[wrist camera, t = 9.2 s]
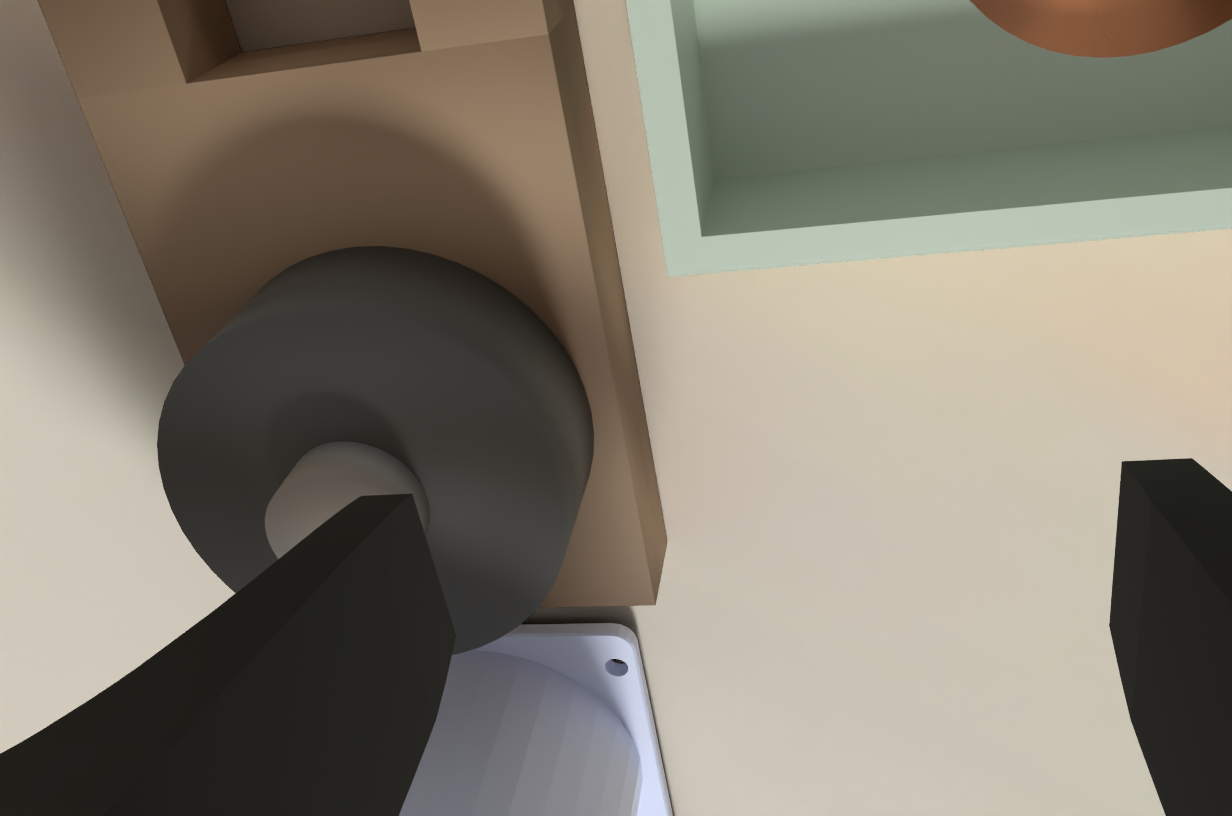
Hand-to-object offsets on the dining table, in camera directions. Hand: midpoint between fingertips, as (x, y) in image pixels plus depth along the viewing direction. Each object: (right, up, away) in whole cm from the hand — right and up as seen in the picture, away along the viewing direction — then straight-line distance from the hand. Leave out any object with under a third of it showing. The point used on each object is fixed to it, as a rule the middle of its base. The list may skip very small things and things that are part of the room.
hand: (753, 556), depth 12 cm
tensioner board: (-6, +6, +8) cm, 12 cm away
